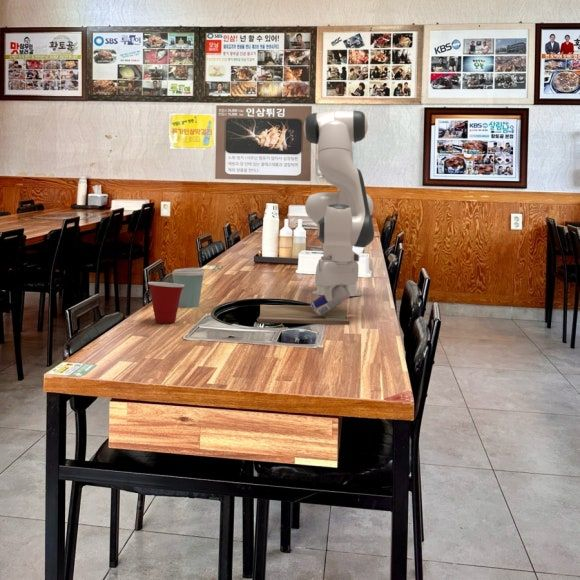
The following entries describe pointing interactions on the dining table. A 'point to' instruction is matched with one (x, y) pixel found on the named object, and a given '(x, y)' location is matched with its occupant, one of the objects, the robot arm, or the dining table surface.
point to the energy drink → (324, 306)
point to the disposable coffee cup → (189, 286)
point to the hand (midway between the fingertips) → (336, 299)
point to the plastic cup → (165, 300)
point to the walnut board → (301, 315)
